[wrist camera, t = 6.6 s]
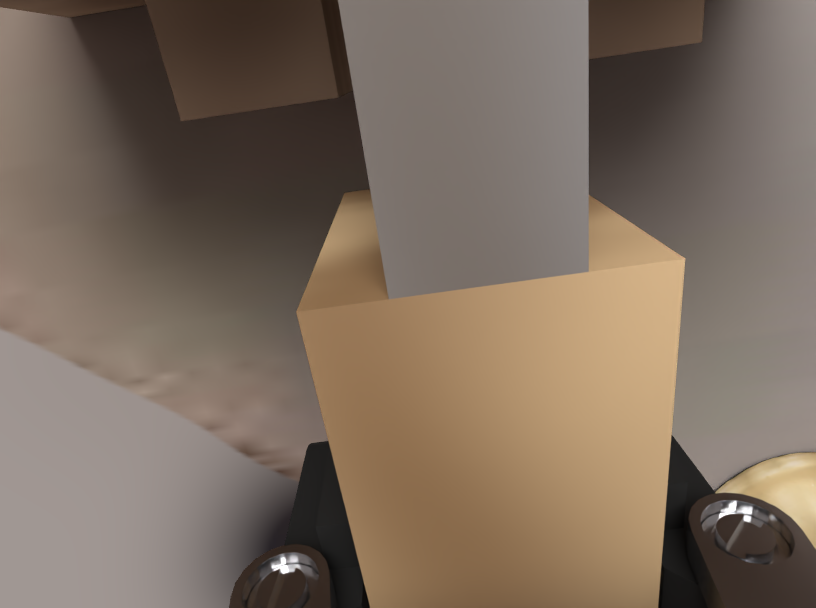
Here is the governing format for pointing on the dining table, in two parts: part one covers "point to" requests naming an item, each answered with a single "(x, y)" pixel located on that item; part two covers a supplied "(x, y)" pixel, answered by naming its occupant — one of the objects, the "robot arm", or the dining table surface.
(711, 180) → the dining table surface
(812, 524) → the hand bell
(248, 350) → the dining table surface
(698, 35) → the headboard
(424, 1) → the tan and gray block
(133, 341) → the dining table surface
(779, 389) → the dining table surface
